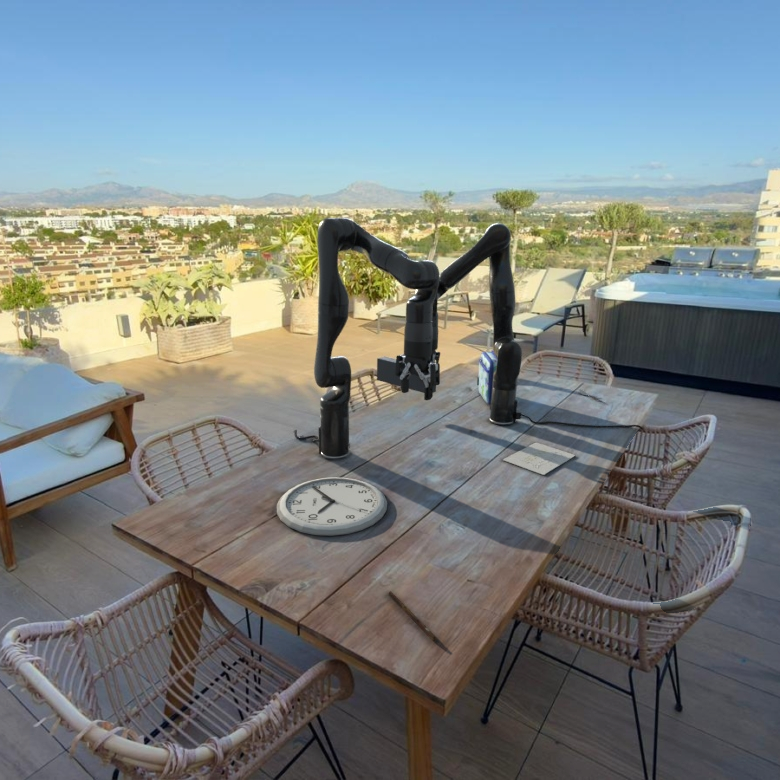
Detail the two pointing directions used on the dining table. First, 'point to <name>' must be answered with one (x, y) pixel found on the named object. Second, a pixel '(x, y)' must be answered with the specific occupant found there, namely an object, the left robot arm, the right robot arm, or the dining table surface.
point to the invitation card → (539, 458)
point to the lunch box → (486, 375)
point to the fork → (589, 395)
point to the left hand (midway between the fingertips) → (416, 395)
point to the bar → (387, 374)
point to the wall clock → (331, 506)
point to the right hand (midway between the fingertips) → (426, 379)
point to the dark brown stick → (412, 616)
